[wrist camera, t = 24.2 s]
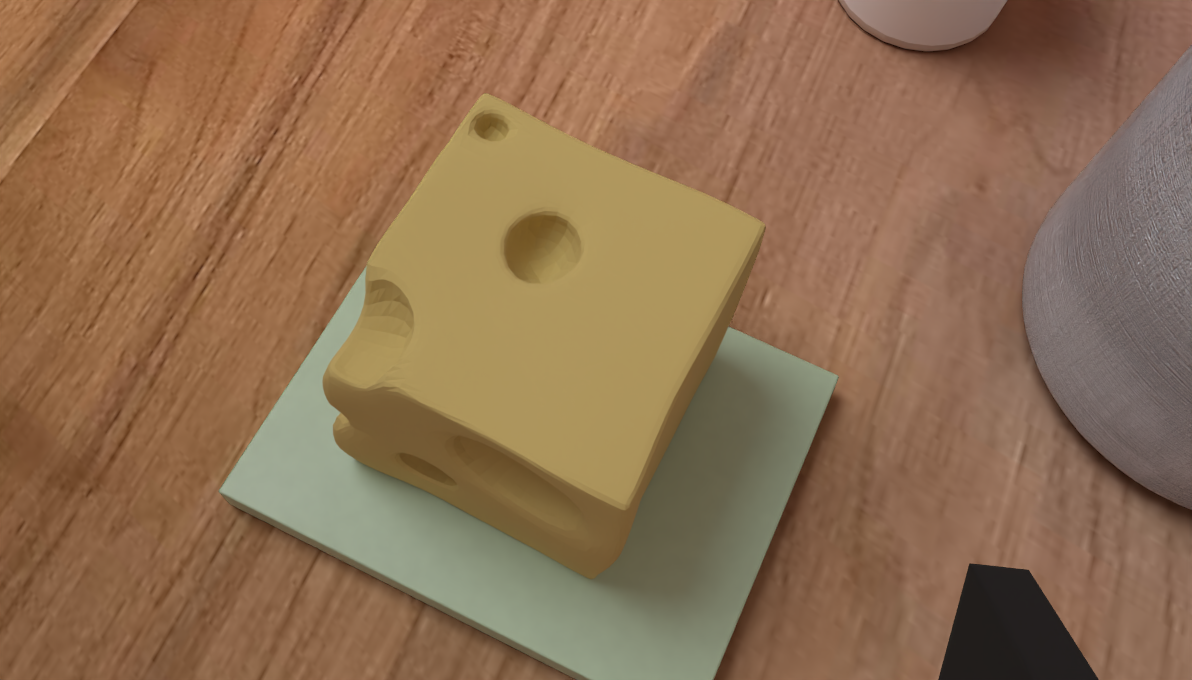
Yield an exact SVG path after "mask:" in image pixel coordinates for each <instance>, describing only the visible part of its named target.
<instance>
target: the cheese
mask: <svg viewBox="0 0 1192 680" xmlns="http://www.w3.org/2000/svg"><path fill="white" fill-rule="evenodd" d="M765 228H766V227H765V224H764V223H763V222H761V221H760V220H758V219H756V218H754V217H752V216H750V215H748V214H746V213H744V212H742V211H740V210H738V209H737V208H735V207H733V206H731V205H729V204H727V203H724V202H722V201H720V200H718V199H716V198H714V197H711V196H709V195H707V194H705V193H703V192H700V191H698V190H695V189H693V188H690V187H688V186H685V185H683V184H680V183H678V182H676V181H673V180H671V179H668V178H666V177H663V176H661V175H658V174H656V173H653V172H651V171H648V170H646V169H644V168H641V167H639V166H637V165H634V164H632V163H629V162H627V161H625V160H622V159H620V158H618V157H615V156H613V155H611V154H609V153H606V152H604V151H602V150H600V149H597V148H595V147H593V146H591V145H589V144H586V143H584V142H582V141H580V140H578V139H576V138H574V137H572V136H570V135H567V134H565V133H564V132H562V131H560V130H558V129H556V128H554V127H552V126H550V125H548V124H546V123H544V122H543V121H541V120H539V119H537V118H535V117H533V116H531V115H529V114H528V113H526V112H524V111H522V110H520V109H518V108H516V107H514V106H512V105H510V104H509V103H507V102H505V101H503V100H501V99H499V98H496V97H494V96H492V95H490V94H486V93H484V94H483V95H482V96H481V97H480V98H479V99H478V101H477V102H476V103H475V104H474V106H473V107H472V109H471V110H470V111H469V113H468V114H467V116H466V117H465V119H464V120H463V121H462V123H461V124H460V126H459V127H458V129H457V130H456V132H455V133H454V135H453V136H452V138H451V139H450V141H449V142H448V144H447V145H446V146H445V148H444V149H443V150H442V152H441V153H440V154H439V156H438V157H437V158H436V160H435V161H434V163H433V164H432V166H431V167H430V169H429V170H428V172H427V173H426V175H425V176H424V178H423V179H422V181H421V182H420V184H419V185H418V187H417V189H416V190H415V192H414V193H413V195H412V196H411V197H410V199H409V200H408V202H407V203H406V205H405V206H404V207H403V209H402V210H401V212H400V213H399V215H398V216H397V217H396V219H395V220H394V221H393V223H392V224H391V225H390V227H389V228H388V230H387V231H386V233H385V234H384V235H383V237H382V238H381V240H380V241H379V243H378V244H377V246H376V247H375V249H374V251H373V253H372V255H371V257H370V258H369V260H368V262H367V268H366V278H365V299H364V305H363V308H362V311H361V314H360V317H359V319H358V321H357V323H356V325H355V327H354V329H353V330H352V332H351V334H350V335H349V337H348V338H347V340H346V341H345V342H344V344H343V345H342V346H341V348H340V349H339V350H338V352H337V353H336V354H335V356H334V357H333V358H332V360H331V361H330V363H329V365H328V367H327V369H326V371H325V373H324V375H323V380H322V383H323V390H324V394H325V396H326V398H327V400H328V402H329V404H330V405H332V406H333V407H334V408H336V409H337V410H338V411H339V412H341V413H340V414H339V415H338V416H337V417H336V420H335V422H334V424H333V436H334V439H335V442H336V444H337V445H338V446H339V448H340V449H341V450H343V451H344V452H345V453H346V454H348V455H349V456H351V457H353V458H354V459H356V460H357V461H359V462H361V463H363V464H365V465H367V466H369V467H371V468H373V469H375V470H377V471H380V472H382V473H384V474H387V475H389V476H392V477H394V478H397V479H399V480H402V481H404V482H406V483H409V484H411V485H413V486H416V487H418V488H420V489H422V490H425V491H427V492H429V493H431V494H433V495H435V496H437V497H439V498H441V499H443V500H444V501H446V502H448V503H450V504H452V505H454V506H455V507H457V508H459V509H461V510H463V511H464V512H466V513H468V514H470V515H472V516H474V517H476V518H477V519H479V520H481V521H483V522H485V523H487V524H489V525H491V526H492V527H494V528H496V529H498V530H500V531H502V532H504V533H506V534H507V535H509V536H511V537H513V538H515V539H517V540H519V541H520V542H522V543H524V544H526V545H528V546H530V547H532V548H534V549H535V550H537V551H539V552H541V553H542V554H544V555H546V556H548V557H550V558H551V559H553V560H555V561H557V562H559V563H560V564H562V565H564V566H566V567H567V568H569V569H571V570H573V571H575V572H577V573H579V574H581V575H583V576H584V577H586V578H589V579H594V578H595V577H596V576H597V575H598V574H600V573H601V572H603V571H604V570H606V569H607V568H609V567H610V566H611V565H612V564H613V563H614V562H615V561H616V560H617V558H618V557H619V556H620V554H621V552H622V550H623V548H624V546H625V544H626V541H627V538H628V536H629V533H630V530H631V528H632V525H633V522H634V519H635V516H636V513H637V510H638V507H639V504H640V501H641V498H642V496H643V495H644V493H645V491H646V489H647V487H648V485H649V483H650V481H651V479H652V477H653V475H654V473H655V471H656V469H657V467H658V465H659V464H660V462H661V460H662V458H663V456H664V454H665V452H666V450H667V448H668V446H669V444H670V442H671V440H672V438H673V436H674V434H675V432H676V430H677V428H678V426H679V424H680V422H681V420H682V418H683V416H684V414H685V412H686V410H687V408H688V406H689V404H690V402H691V400H692V398H693V396H694V394H695V393H696V391H697V389H698V387H699V385H700V383H701V381H702V379H703V378H704V376H705V374H706V372H707V370H708V369H709V367H710V365H711V363H712V361H713V360H714V358H715V356H716V354H717V351H718V349H719V347H720V344H721V342H722V340H723V338H724V336H725V333H726V331H727V329H728V327H729V324H730V322H731V320H732V317H733V315H734V313H735V310H736V308H737V306H738V303H739V301H740V298H741V296H742V293H743V291H744V288H745V286H746V283H747V281H748V278H749V275H750V273H751V270H752V268H753V265H754V263H755V260H756V257H757V255H758V252H759V249H760V246H761V243H762V239H763V236H764V232H765Z"/></svg>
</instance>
